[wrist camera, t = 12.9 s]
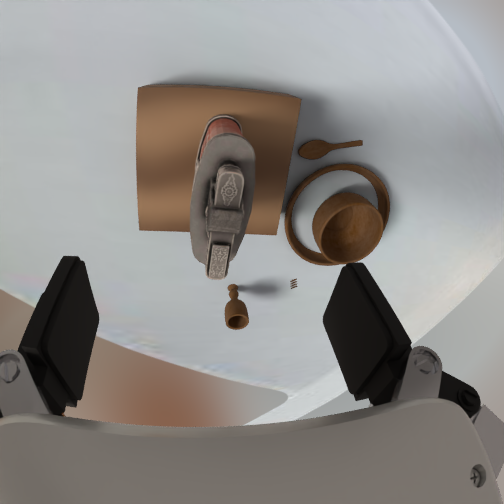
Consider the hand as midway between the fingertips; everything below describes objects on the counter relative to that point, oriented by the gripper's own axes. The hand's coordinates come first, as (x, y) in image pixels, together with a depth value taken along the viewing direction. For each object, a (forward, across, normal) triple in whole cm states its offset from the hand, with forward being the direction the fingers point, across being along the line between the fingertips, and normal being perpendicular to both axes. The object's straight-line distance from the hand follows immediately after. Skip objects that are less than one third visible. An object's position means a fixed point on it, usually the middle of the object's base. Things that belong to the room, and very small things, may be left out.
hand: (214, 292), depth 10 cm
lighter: (+15, -1, 0) cm, 15 cm away
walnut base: (+18, 0, 0) cm, 18 cm away
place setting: (+19, -10, +7) cm, 23 cm away
